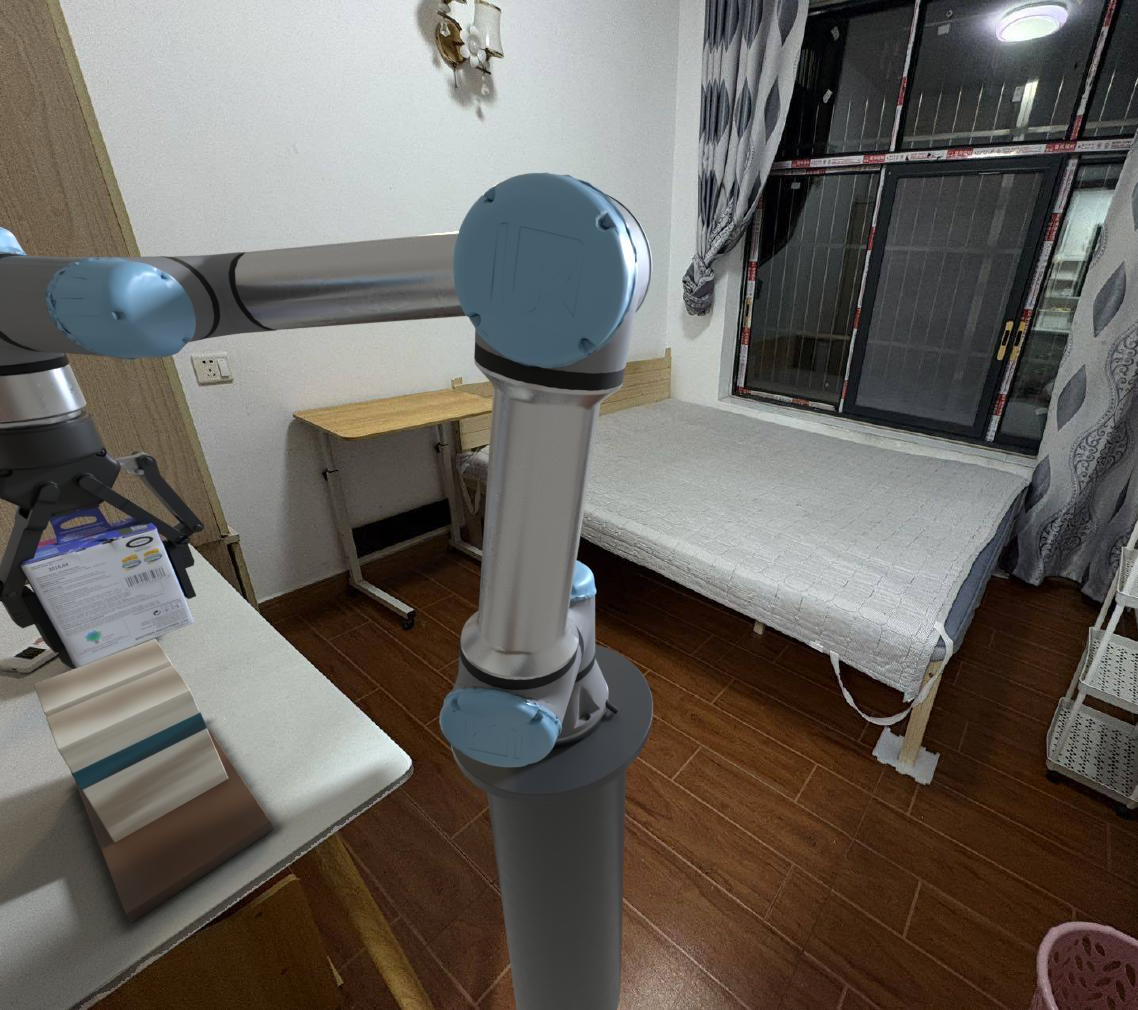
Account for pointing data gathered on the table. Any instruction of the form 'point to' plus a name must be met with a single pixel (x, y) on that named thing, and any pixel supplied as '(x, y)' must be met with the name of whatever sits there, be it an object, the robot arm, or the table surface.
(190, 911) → the table surface
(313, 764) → the table surface
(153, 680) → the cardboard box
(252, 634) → the table surface
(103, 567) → the ink cartridge box
